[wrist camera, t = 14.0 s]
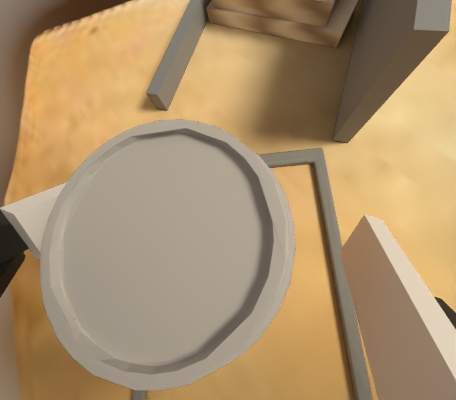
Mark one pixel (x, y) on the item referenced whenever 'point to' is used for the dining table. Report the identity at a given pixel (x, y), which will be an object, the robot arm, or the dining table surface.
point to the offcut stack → (286, 18)
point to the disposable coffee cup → (166, 255)
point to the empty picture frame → (340, 280)
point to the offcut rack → (359, 62)
